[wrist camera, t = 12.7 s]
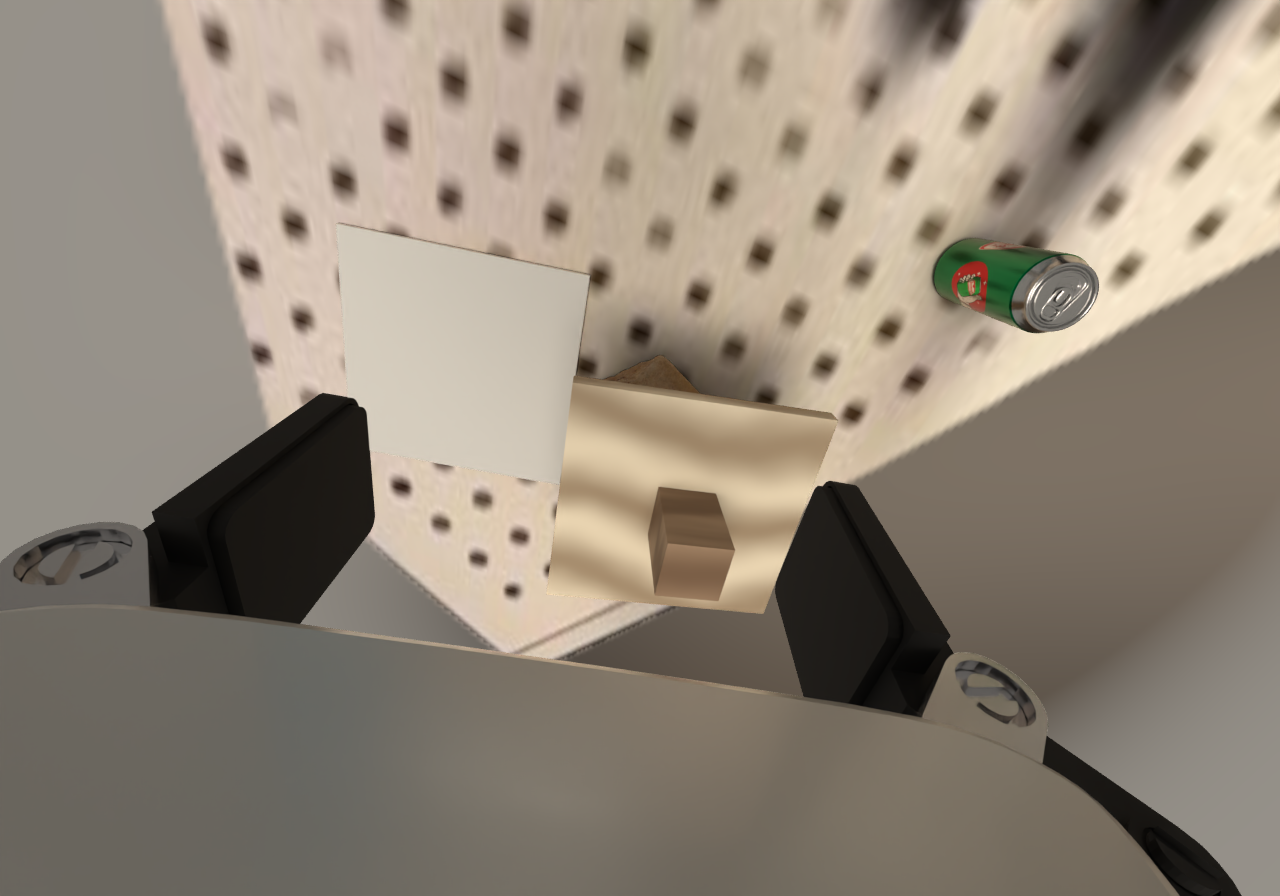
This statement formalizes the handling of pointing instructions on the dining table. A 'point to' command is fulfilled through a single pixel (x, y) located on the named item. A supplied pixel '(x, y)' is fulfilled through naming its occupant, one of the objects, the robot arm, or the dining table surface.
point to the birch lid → (680, 495)
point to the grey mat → (460, 352)
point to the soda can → (1017, 284)
